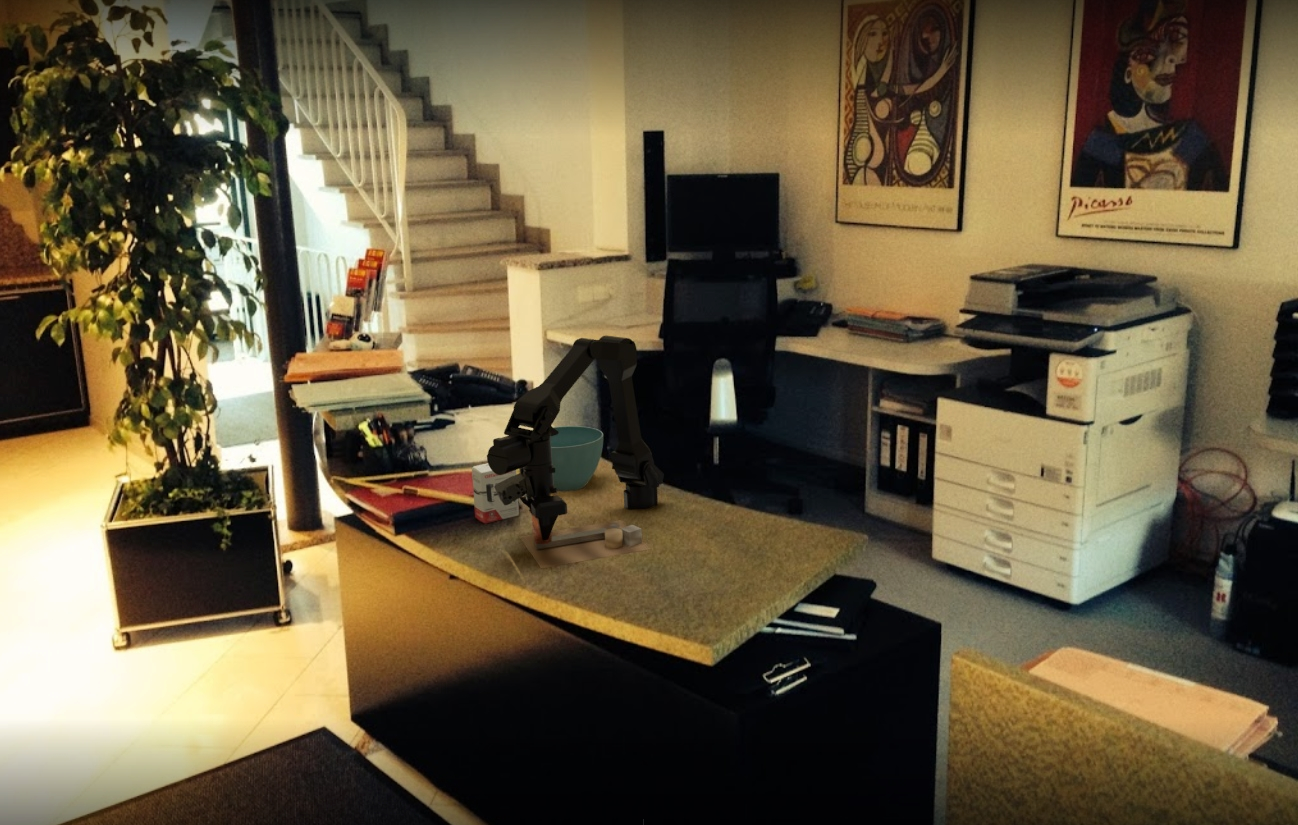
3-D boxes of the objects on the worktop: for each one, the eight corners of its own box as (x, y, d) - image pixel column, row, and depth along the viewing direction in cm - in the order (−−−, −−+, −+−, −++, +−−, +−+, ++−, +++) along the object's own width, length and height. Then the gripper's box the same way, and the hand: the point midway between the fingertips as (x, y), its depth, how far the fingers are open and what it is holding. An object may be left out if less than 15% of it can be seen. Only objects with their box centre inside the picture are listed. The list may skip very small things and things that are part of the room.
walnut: (619, 541, 222) (619, 527, 221) (625, 547, 219) (624, 533, 218) (603, 544, 221) (602, 530, 220) (608, 550, 218) (607, 535, 217)
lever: (605, 532, 226) (603, 496, 224) (610, 538, 223) (608, 502, 221) (532, 544, 221) (529, 508, 219) (536, 550, 218) (534, 513, 216)
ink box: (484, 524, 238) (480, 471, 235) (474, 518, 242) (470, 466, 239) (520, 515, 243) (516, 463, 240) (510, 509, 247) (506, 458, 244)
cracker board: (622, 525, 234) (621, 506, 233) (650, 554, 218) (649, 534, 217) (519, 542, 227) (518, 522, 226) (541, 573, 211) (540, 553, 210)
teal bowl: (512, 491, 259) (508, 440, 255) (561, 470, 273) (558, 421, 270) (573, 504, 248) (569, 451, 245) (621, 480, 263) (618, 431, 260)
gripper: (486, 454, 222) (492, 527, 226) (507, 481, 205) (513, 559, 209) (540, 446, 225) (545, 519, 229) (565, 472, 208) (570, 550, 212)
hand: (542, 536), depth 220 cm, fingers closed on lever, 4 cm apart
